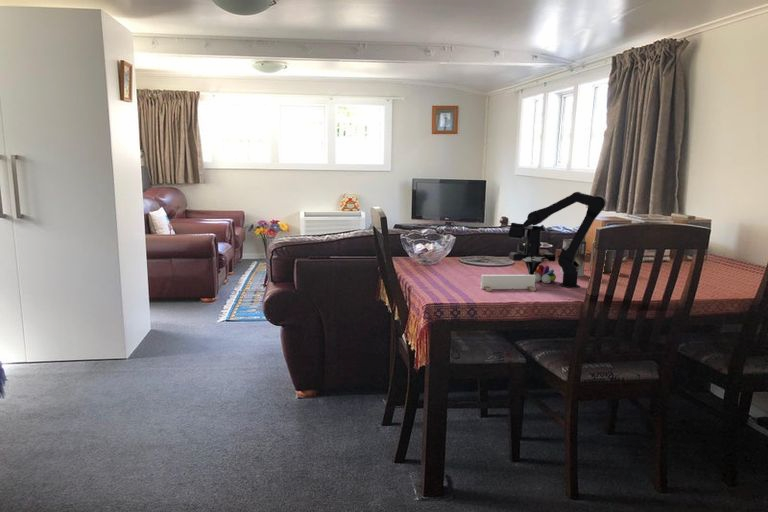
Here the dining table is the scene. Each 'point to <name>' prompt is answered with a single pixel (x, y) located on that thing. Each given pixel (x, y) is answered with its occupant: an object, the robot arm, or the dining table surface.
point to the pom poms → (544, 274)
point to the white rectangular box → (508, 282)
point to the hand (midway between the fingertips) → (530, 276)
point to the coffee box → (580, 255)
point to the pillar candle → (607, 262)
